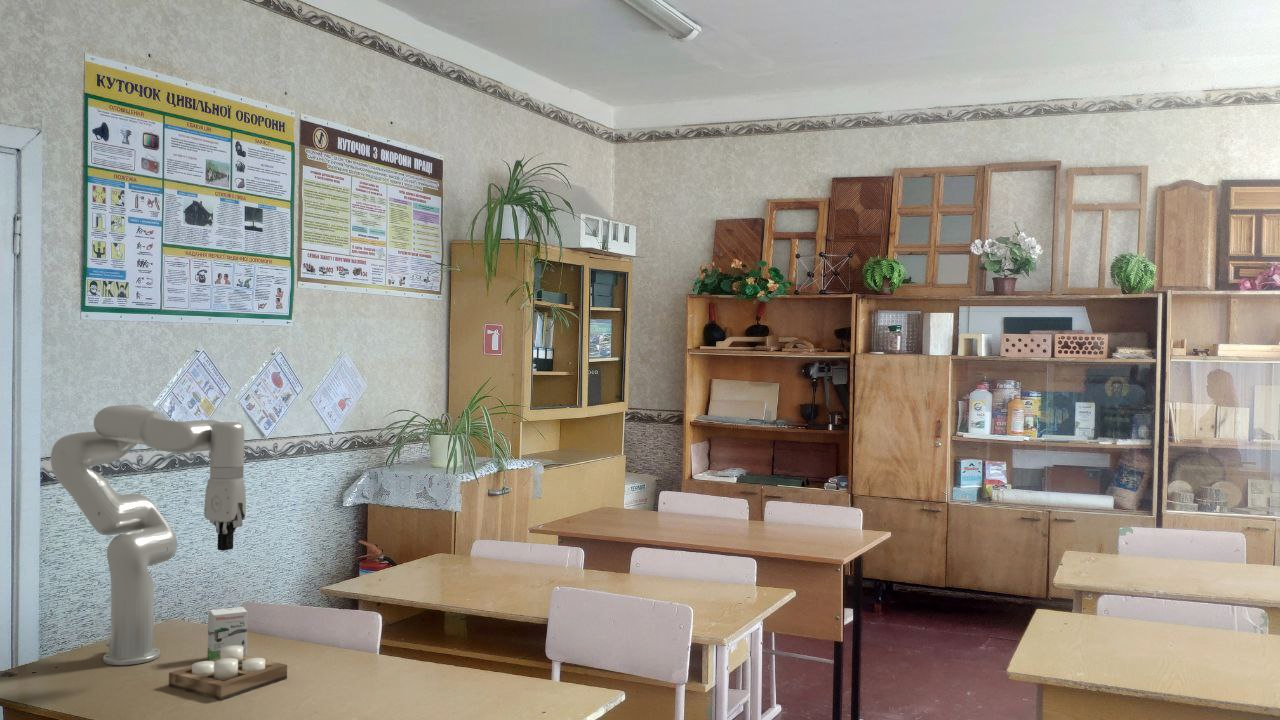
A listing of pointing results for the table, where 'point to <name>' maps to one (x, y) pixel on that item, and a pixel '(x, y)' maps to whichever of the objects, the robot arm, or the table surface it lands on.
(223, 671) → the button
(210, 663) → the button
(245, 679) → the button board
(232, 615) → the ink box
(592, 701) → the table surface
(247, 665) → the button
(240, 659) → the button
